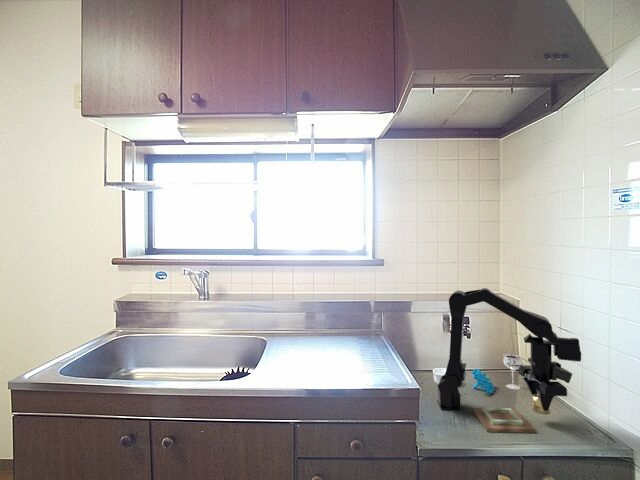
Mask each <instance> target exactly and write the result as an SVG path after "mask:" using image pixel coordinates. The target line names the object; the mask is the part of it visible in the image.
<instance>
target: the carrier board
mask: <svg viewBox="0 0 640 480" xmlns="http://www.w3.org/2000/svg"><path fill="white" fill-rule="evenodd" d="M471 411H472V412H473V414H474V415H475V417H476V418H477V420H478V421H479V423H480V424H481V425H482V427H483V428H484V429H485V431H486V432H490V433H491V432H493V433H494V432H495V433H527V434H528V433H532V434H534V433H535V434H536V428H535V427H534V426H533V425H532V424H531V423H530V422H529V421H528V420H527V419H526V418H525V417H524V416H523V415H522V414H521V413H520V412H519V411H518V409H516V408H515V407H476V406H475V407H472V408H471Z"/></svg>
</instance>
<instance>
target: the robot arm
mask: <svg viewBox="0 0 640 480" xmlns="http://www.w3.org/2000/svg"><path fill="white" fill-rule="evenodd" d="M479 303H486V304H488V305H490V306H492V307H493V308H495V309H496V310H497V311H500V312H502V313H503V314H505V315H507V316H508V317H510V318H512V319H514V320H515V321H517V322H519V323H520V324H521V325H522V326H523V327H524V328H525V329H526V330H528V331H529V332H530V333H528V335H527V336H525V337H523V340H524V343H527V344H530V357H527V362H529V363H530V364H529V365H528V364H527V365H525V364H522V365H521V366H520V367H519V369H518V374H519V375H520V376H522V377H523V381H524V382H525V384H526V387H527V388H528V390H529V392H530V394H531V396H532V395H533V394H537V393H538V396H539V399H540V402H541V405H542V407H543V410H544V411H548V409H549V406H550V404H552V402H553V399H554V397H567V396H568V388H567V387H566V385H564V384H562V383H561V382H559V381H557V380H560V381H563V382H565V383H567V384H570V381H571V379H572V376H573V373H572V372H570V371H569V370H567V369H565V368H563V367H562V364H561V363H560V362H559V361H558V362H557V361H555V360H554V361H552V357H553V355H554V356H555V357H556V358H557V359H558V360H561V361H570V362H581V360H582V351H581V345H580V340H579V339H578V338H576V337H571V338H570V337H569V338H568V337H561V336H559V337H558V335H557V333H556V332H554V331H553V327H552V324H551V322H550V320H549V319H548V318H547V317H545V316H544V315H540V314H537V313H534V312H531V311H528V310H525V309H523V308H521V307H519V306H517V305H516V304H514V303H512V302H510V301H508V300H507V299H505V298H503V297H502V296H500V295H498V294H496V293H495V292H492V291H491V290H490V289H488V288H485V287H483V288H481V289H475V290H467V291H463V290H455V291H454V292H453V293H451V295H450V296H449V298H448V305H449V306H448V307H449V314H450V317H451V320H450V321H451V322H450V323H451V324H450V325H451V326H450V341H449V355H448V356H449V358H448V362H447V367H446V373H445V374H444V375H443V376H442V377H441V379H440V382H439V384H437V393H438V394H437V395H438V396H437V397H438V398H437V400H436V402H437V405H438V406H439V408H440V410H443V411H445V410H447V411H450V410H454V411H461V393H460V391H459V390H460V389H459V387H461V386H462V383H463V382H464V381H465V380H466V376H467V373H466V366H467V363H463V360H462V352H463V351H462V350H463V337H464V336H463V331H464V319H465V315H466V311H467V307H468V306H472V305H475V304H479ZM532 335H534V336H532ZM552 346H553V355H552Z"/></svg>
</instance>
